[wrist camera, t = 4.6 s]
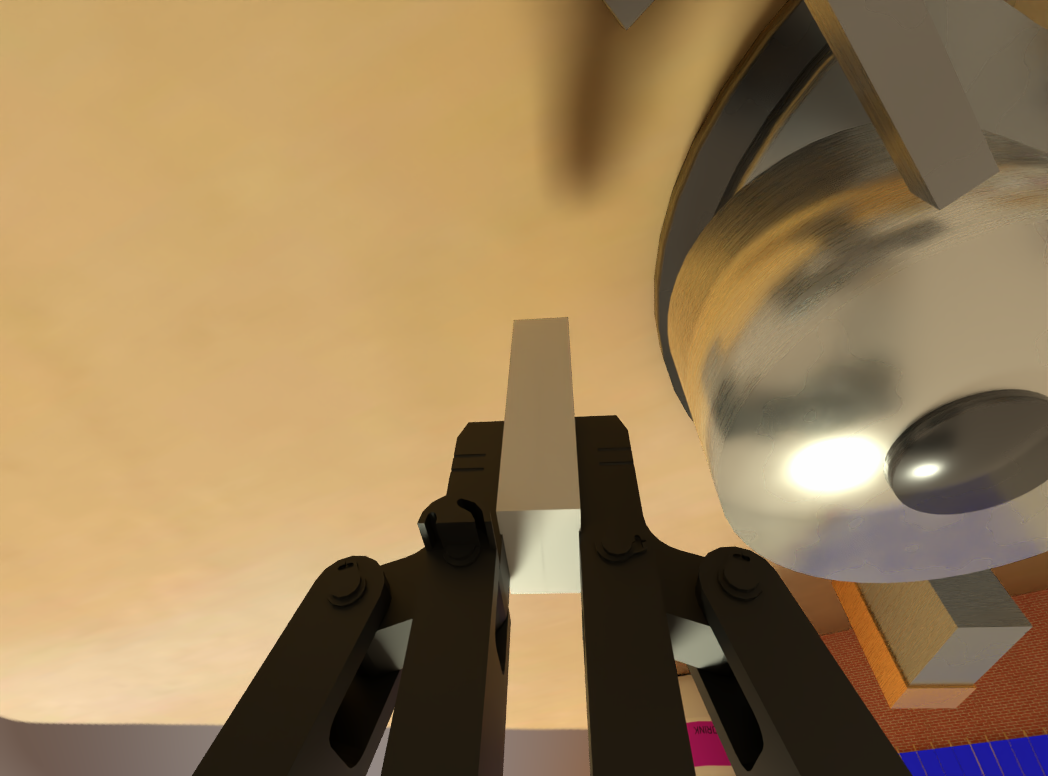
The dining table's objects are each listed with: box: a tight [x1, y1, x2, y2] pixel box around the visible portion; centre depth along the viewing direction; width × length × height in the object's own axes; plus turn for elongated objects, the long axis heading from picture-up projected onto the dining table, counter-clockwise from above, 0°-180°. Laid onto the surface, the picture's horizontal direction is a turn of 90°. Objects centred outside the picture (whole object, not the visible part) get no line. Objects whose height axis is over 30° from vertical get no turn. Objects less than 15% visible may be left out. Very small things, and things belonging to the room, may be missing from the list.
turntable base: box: [654, 0, 827, 422], centre depth 16 cm, size 22×22×1 cm
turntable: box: [713, 0, 1048, 709], centre depth 16 cm, size 27×20×6 cm
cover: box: [668, 123, 1048, 583], centre depth 13 cm, size 10×10×6 cm
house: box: [820, 589, 1048, 776], centre depth 30 cm, size 12×20×12 cm, turn 120°
